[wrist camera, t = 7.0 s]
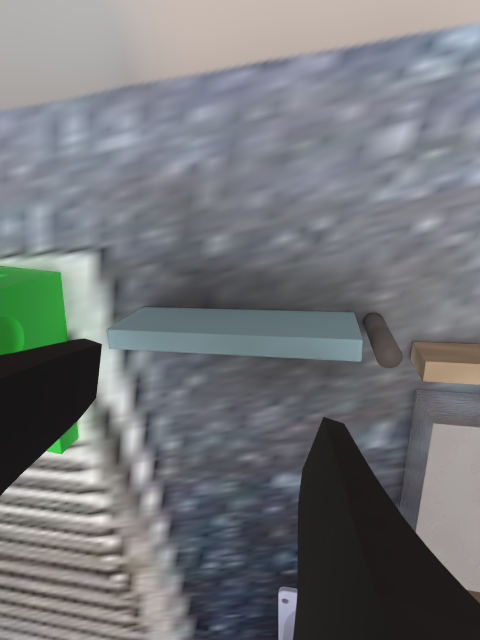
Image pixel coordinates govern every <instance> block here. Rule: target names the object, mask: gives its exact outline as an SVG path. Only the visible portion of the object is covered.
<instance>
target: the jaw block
mask: <svg viewBox="0 0 480 640" xmlns="http://www.w3.org/2000/svg"><path fill="white" fill-rule="evenodd" d="M399 512H400V513H401V514H402V516H403V517H404V518H405V520H406V521H407V522H408V523H409V525H410V526H411V527H412V528H413V530H414V531H415V532H416V533H417V535H418V536H419V537H420V538H421V540H422V541H423V542H424V543H425V544H426V546H427V547H428V548H429V549H430V550H431V552H432V553H433V554H434V555H435V556H436V557H437V558H438V560H439V561H440V562H441V563H442V564H443V565H444V566H445V567H446V568H447V569H448V570H449V572H450V573H451V574H452V575H453V576H454V577H455V578H456V579H457V580H458V581H459V582H460V583H461V585H462V586H463V587H464V588H465V589H466V590H470V591H476V592H480V394H472V393H458V392H444V391H430V390H416V393H415V400H414V408H413V415H412V422H411V429H410V436H409V443H408V450H407V458H406V465H405V472H404V479H403V486H402V493H401V500H400V508H399Z"/></svg>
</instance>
